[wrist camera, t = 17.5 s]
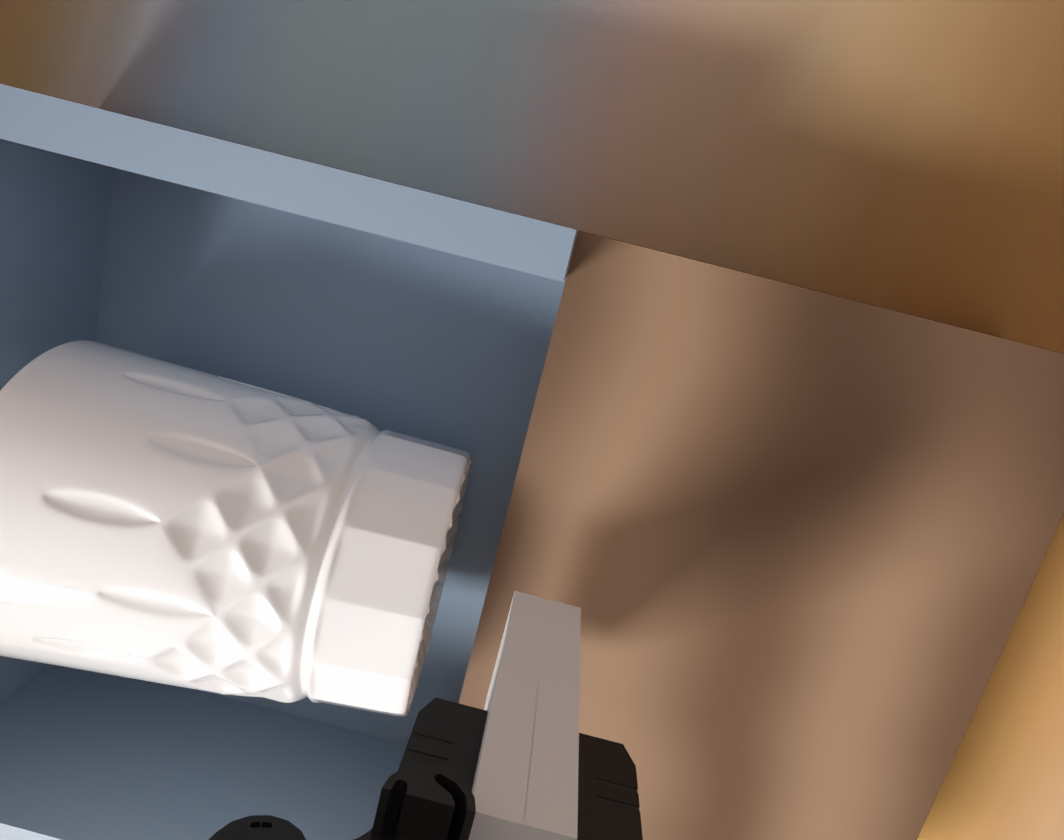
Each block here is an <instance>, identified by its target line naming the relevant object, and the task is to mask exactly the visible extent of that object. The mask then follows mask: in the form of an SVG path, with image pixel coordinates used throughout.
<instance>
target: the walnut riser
mask: <svg viewBox="0 0 1064 840" xmlns="http://www.w3.org/2000/svg"><path fill="white" fill-rule="evenodd" d="M1063 515H1064V354H1063V353H1059V352H1055V351H1051V350H1047V349H1043V348H1039V347H1035V346H1031V345H1027V344H1023V343H1019V342H1015V341H1011V340H1007V339H1004V338H1000V337H996V336H992V335H988V334H984V333H980V332H976V331H972V330H968V329H964V328H960V327H956V326H952V325H948V324H944V323H940V322H936V321H933V320H929V319H925V318H921V317H917V316H913V315H909V314H905V313H901V312H897V311H893V310H889V309H885V308H881V307H877V306H873V305H869V304H866V303H862V302H858V301H854V300H850V299H846V298H842V297H838V296H834V295H830V294H826V293H822V292H818V291H814V290H810V289H806V288H802V287H799V286H795V285H791V284H787V283H783V282H779V281H775V280H771V279H767V278H763V277H759V276H755V275H751V274H747V273H743V272H739V271H735V270H731V269H728V268H724V267H720V266H716V265H712V264H708V263H704V262H700V261H696V260H692V259H688V258H684V257H680V256H676V255H672V254H668V253H664V252H661V251H657V250H653V249H649V248H645V247H641V246H637V245H633V244H629V243H625V242H621V241H617V240H613V239H609V238H605V237H601V236H597V235H593V234H590V233H586V232H582V231H578V233H577V237H576V241H575V245H574V249H573V253H572V257H571V261H570V265H569V269H568V273H567V277H566V281H565V285H564V288H563V292H562V296H561V300H560V304H559V308H558V312H557V316H556V320H555V324H554V328H553V332H552V336H551V340H550V344H549V348H548V352H547V356H546V360H545V364H544V368H543V371H542V375H541V379H540V383H539V387H538V391H537V395H536V399H535V403H534V407H533V411H532V415H531V419H530V423H529V427H528V431H527V435H526V439H525V443H524V447H523V450H522V454H521V458H520V462H519V466H518V470H517V474H516V478H515V482H514V486H513V490H512V494H511V498H510V502H509V506H508V510H507V514H506V518H505V522H504V526H503V529H502V533H501V537H500V541H499V545H498V549H497V553H496V557H495V561H494V565H493V569H492V573H491V577H490V581H489V585H488V589H487V593H486V597H485V601H484V605H483V609H482V612H481V616H480V620H479V624H478V628H477V632H476V636H475V640H474V644H473V648H472V652H471V656H470V660H469V664H468V668H467V672H466V676H465V680H464V684H463V688H462V691H461V695H460V699H459V704H463V705H467V706H471V707H475V708H478V709H482V710H484V707H485V703H486V698H487V694H488V690H489V686H490V682H491V679H492V675H493V671H494V667H495V663H496V660H497V656H498V652H499V648H500V644H501V641H502V637H503V633H504V629H505V625H506V622H507V618H508V614H509V610H510V606H511V603H512V599H513V595H514V591H518V592H522V593H526V594H529V595H533V596H537V597H541V598H545V599H549V600H553V601H557V602H560V603H564V604H568V605H572V606H576V607H580V608H581V627H580V694H579V733H582V734H586V735H590V736H594V737H598V738H602V739H605V740H609V741H613V742H617V743H621V744H623V745H624V747H625V748H626V750H627V752H628V753H629V755H630V757H631V759H632V760H633V762H634V764H635V766H636V772H637V783H638V791H637V793H638V794H639V804H640V808H639V811H640V815H641V826H642V836H643V840H917V838H918V836H919V834H920V832H921V829H922V827H923V825H924V823H925V820H926V818H927V816H928V814H929V812H930V809H931V807H932V805H933V803H934V801H935V798H936V796H937V794H938V792H939V789H940V787H941V785H942V783H943V781H944V778H945V776H946V774H947V772H948V770H949V767H950V765H951V763H952V761H953V758H954V756H955V754H956V752H957V750H958V747H959V745H960V743H961V741H962V739H963V736H964V734H965V732H966V730H967V727H968V725H969V723H970V721H971V719H972V716H973V714H974V712H975V710H976V708H977V705H978V703H979V701H980V699H981V697H982V694H983V692H984V690H985V688H986V685H987V683H988V681H989V679H990V677H991V674H992V672H993V670H994V668H995V666H996V663H997V661H998V659H999V657H1000V654H1001V652H1002V650H1003V648H1004V646H1005V643H1006V641H1007V639H1008V637H1009V635H1010V632H1011V630H1012V628H1013V626H1014V623H1015V621H1016V619H1017V617H1018V615H1019V612H1020V610H1021V608H1022V606H1023V604H1024V601H1025V599H1026V597H1027V595H1028V593H1029V590H1030V588H1031V586H1032V584H1033V581H1034V579H1035V577H1036V575H1037V573H1038V570H1039V568H1040V566H1041V564H1042V562H1043V559H1044V557H1045V555H1046V553H1047V550H1048V548H1049V546H1050V544H1051V542H1052V539H1053V537H1054V535H1055V533H1056V531H1057V528H1058V526H1059V524H1060V522H1061V519H1062V517H1063Z"/></svg>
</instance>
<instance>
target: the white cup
mask: <svg viewBox="0 0 1064 840" xmlns="http://www.w3.org/2000/svg"><path fill="white" fill-rule="evenodd" d="M471 463H472V461H471V455H470V454H469V453H468V452H466V451H463V450H460V449H456V448H453V447H449V446H446V445H442V444H438V443H434V442H431V441H427V440H423V439H420V438H416V437H412V436H409V435H405V434H401V433H397V432H394V431H391V430H383V431H381V432H380V431H379V429H378V428H377V427H376V426H375V425H373V424H372V423H370V422H369V421H367V420H366V419H363V418H361V417H358V416H354V415H350V414H345V413H342V412H339V411H336V410H334V409H331V408H328V407H325V406H321V405H318V404H315V403H312V402H309V401H305V400H302V399H299V398H296V397H293V396H289V395H286V394H282V393H279V392H275V391H272V390H268V389H265V388H261V387H257V386H254V385H250V384H247V383H243V382H239V381H236V380H232V379H229V378H225V377H221V376H218V375H214V374H211V373H207V372H203V371H200V370H196V369H193V368H189V367H185V366H182V365H178V364H175V363H171V362H168V361H164V360H160V359H157V358H153V357H150V356H146V355H143V354H139V353H136V352H132V351H129V350H125V349H122V348H118V347H115V346H111V345H108V344H104V343H101V342H97V341H90V340H79V341H72V342H68V343H64V344H62V345H59V346H56V347H54V348H52V349H50V350H48V351H46V352H44V353H43V354H41V355H40V356H38V357H37V358H35V359H34V360H32V361H31V362H30V363H28V364H27V365H26V366H25V367H23V368H22V369H21V370H20V371H19V372H18V373H17V374H16V375H15V376H14V377H12V379H11V380H10V381H9V382H8V383H7V384H6V385H5V386H4V387H3V388H2V389H1V390H0V656H3V657H9V658H15V659H21V660H27V661H33V662H39V663H45V664H51V665H57V666H63V667H68V668H74V669H80V670H86V671H91V672H97V673H103V674H109V675H114V676H120V677H126V678H133V679H139V680H145V681H151V682H156V683H162V684H168V685H174V686H179V687H185V688H191V689H197V690H203V691H208V692H214V693H220V694H224V695H237V696H250V697H264V698H268V699H272V700H275V701H279V702H283V703H292V702H296V701H299V700H302V699H304V698H306V697H308V698H309V699H310V700H311V701H312V702H314V703H328V704H334V705H339V706H345V707H350V708H356V709H361V710H366V711H372V712H377V713H383V714H388V715H394V716H406V715H408V713H409V710H410V707H411V704H412V701H413V698H414V695H415V692H416V689H417V685H418V682H419V678H420V675H421V671H422V668H423V664H424V661H425V657H426V653H427V650H428V646H429V642H430V639H431V635H432V631H433V627H434V623H435V619H436V615H437V611H438V607H439V604H440V600H441V596H442V591H443V587H444V583H445V579H446V576H447V572H448V567H449V563H450V558H451V554H452V550H453V548H454V541H455V537H456V533H457V530H458V524H459V519H460V515H461V512H462V510H463V501H464V496H465V493H466V490H467V483H468V481H469V473H470V471H471Z"/></svg>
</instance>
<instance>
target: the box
mask: <svg viewBox="0 0 1064 840" xmlns="http://www.w3.org/2000/svg"><path fill="white" fill-rule="evenodd" d="M577 233H578V230H576V229H572V228H568V227H564V226H560V225H556V224H552V223H548V222H544V221H540V220H536V219H532V218H528V217H525V216H521V215H517V214H513V213H509V212H505V211H501V210H497V209H493V208H489V207H485V206H481V205H477V204H473V203H469V202H465V201H461V200H457V199H454V198H450V197H446V196H442V195H438V194H434V193H430V192H426V191H422V190H418V189H414V188H410V187H406V186H402V185H398V184H394V183H390V182H387V181H383V180H379V179H375V178H371V177H367V176H363V175H359V174H355V173H351V172H347V171H343V170H339V169H335V168H331V167H327V166H323V165H319V164H316V163H312V162H308V161H304V160H300V159H296V158H292V157H288V156H284V155H280V154H276V153H272V152H268V151H264V150H260V149H256V148H252V147H249V146H245V145H241V144H237V143H233V142H229V141H225V140H221V139H217V138H213V137H209V136H205V135H201V134H197V133H193V132H189V131H185V130H181V129H178V128H174V127H170V126H166V125H162V124H158V123H154V122H150V121H146V120H142V119H138V118H134V117H130V116H126V115H122V114H118V113H114V112H111V111H107V110H103V109H99V108H95V107H91V106H87V105H83V104H79V103H75V102H71V101H67V100H63V99H59V98H55V97H51V96H47V95H44V94H40V93H36V92H32V91H28V90H24V89H20V88H16V87H12V86H8V85H4V84H0V390H1V389H2V388H3V387H4V386H5V385H6V384H7V383H8V382H9V381H10V380H11V379H12V377H14V376H15V375H16V374H17V373H18V372H19V371H20V370H21V369H22V368H23V367H25V366H26V365H27V364H28V363H30V362H31V361H32V360H34V359H35V358H37V357H38V356H40V355H41V354H43V353H44V352H46V351H48V350H50V349H52V348H54V347H56V346H59V345H62V344H64V343H68V342H72V341H79V340H90V341H97V342H101V343H104V344H108V345H111V346H115V347H118V348H122V349H125V350H129V351H132V352H136V353H139V354H143V355H146V356H150V357H153V358H157V359H160V360H164V361H168V362H171V363H175V364H178V365H182V366H185V367H189V368H193V369H196V370H200V371H203V372H207V373H211V374H214V375H218V376H221V377H225V378H229V379H232V380H236V381H239V382H243V383H247V384H250V385H254V386H257V387H261V388H265V389H268V390H272V391H275V392H279V393H282V394H286V395H289V396H293V397H296V398H299V399H302V400H305V401H309V402H312V403H315V404H318V405H321V406H325V407H328V408H331V409H334V410H336V411H339V412H342V413H345V414H350V415H354V416H358V417H361V418H363V419H366V420H367V421H369V422H370V423H372V424H373V425H375V426H376V427H377V428H378V429H379V431H380V432H381V431H383V430H391V431H394V432H397V433H401V434H405V435H409V436H412V437H416V438H420V439H423V440H427V441H431V442H434V443H438V444H442V445H446V446H449V447H453V448H456V449H460V450H463V451H466V452H468V453H469V454H470V455H471V461H472V463H471V471H470V473H469V481H468V483H467V490H466V493H465V496H464V501H463V510H462V512H461V515H460V519H459V524H458V530H457V533H456V537H455V541H454V548H453V550H452V554H451V558H450V563H449V567H448V572H447V576H446V579H445V583H444V587H443V591H442V596H441V600H440V604H439V607H438V611H437V615H436V619H435V623H434V627H433V631H432V635H431V639H430V642H429V646H428V650H427V653H426V657H425V661H424V664H423V668H422V671H421V675H420V678H419V682H418V685H417V689H416V692H415V695H414V698H413V701H412V704H411V707H410V710H409V713H408V715H406V716H394V715H388V714H383V713H377V712H372V711H366V710H361V709H356V708H350V707H345V706H339V705H334V704H328V703H314V702H312V701H311V700H310V699H309V698H308V697H306V698H304V699H302V700H299V701H296V702H292V703H283V702H279V701H275V700H272V699H268V698H264V697H250V696H237V695H224V694H220V693H214V692H208V691H203V690H197V689H191V688H185V687H179V686H174V685H168V684H162V683H156V682H151V681H145V680H139V679H133V678H126V677H120V676H114V675H109V674H103V673H97V672H91V671H86V670H80V669H74V668H68V667H63V666H57V665H51V664H45V663H39V662H33V661H27V660H21V659H15V658H9V657H3V656H0V840H209V839H210V838H211V837H212V836H213V835H214V834H215V833H216V832H217V831H219V830H220V829H221V828H223V827H224V826H226V825H227V824H229V823H230V822H231V821H235V820H238V819H241V818H244V817H247V816H250V815H271V816H275V817H278V818H282V819H285V820H288V821H289V822H291V823H292V824H293V825H295V826H296V827H297V828H299V829H300V830H301V831H302V833H303V835H304V837H305V838H306V840H353V839H356V838H359V837H360V836H362V835H364V834H365V833H367V832H368V831H370V830H371V829H372V828H373V824H374V820H375V815H376V811H377V807H378V802H379V798H380V794H381V789H382V787H383V785H384V784H385V782H386V781H387V780H388V778H389V777H390V776H391V775H392V774H394V773H396V772H397V771H398V769H399V766H400V763H401V760H402V757H403V755H404V752H405V749H406V746H407V743H408V740H409V738H410V736H411V732H412V729H413V726H414V723H415V721H416V718H417V715H418V712H419V711H420V710H421V709H422V708H424V707H425V706H426V705H427V704H428V703H430V702H431V701H432V700H433V699H434V698H440V699H444V700H448V701H452V702H455V703H459V699H460V695H461V691H462V688H463V684H464V680H465V676H466V672H467V668H468V664H469V660H470V656H471V652H472V648H473V644H474V640H475V636H476V632H477V628H478V624H479V620H480V616H481V612H482V609H483V605H484V601H485V597H486V593H487V589H488V585H489V581H490V577H491V573H492V569H493V565H494V561H495V557H496V553H497V549H498V545H499V541H500V537H501V533H502V529H503V526H504V522H505V518H506V514H507V510H508V506H509V502H510V498H511V494H512V490H513V486H514V482H515V478H516V474H517V470H518V466H519V462H520V458H521V454H522V450H523V447H524V443H525V439H526V435H527V431H528V427H529V423H530V419H531V415H532V411H533V407H534V403H535V399H536V395H537V391H538V387H539V383H540V379H541V375H542V371H543V368H544V364H545V360H546V356H547V352H548V348H549V344H550V340H551V336H552V332H553V328H554V324H555V320H556V316H557V312H558V308H559V304H560V300H561V296H562V292H563V288H564V285H565V281H566V277H567V273H568V269H569V265H570V261H571V257H572V253H573V249H574V245H575V241H576V237H577Z"/></svg>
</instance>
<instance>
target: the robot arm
mask: <svg viewBox="0 0 1064 840" xmlns="http://www.w3.org/2000/svg"><path fill="white" fill-rule="evenodd" d="M580 627H581V608H580V607H576V606H572V605H568V604H564V603H560V602H557V601H553V600H549V599H545V598H541V597H537V596H533V595H529V594H526V593H522V592H518V591H514V595H513V599H512V603H511V606H510V610H509V614H508V618H507V622H506V625H505V629H504V633H503V637H502V641H501V644H500V648H499V652H498V656H497V660H496V663H495V667H494V671H493V675H492V679H491V682H490V686H489V690H488V694H487V698H486V703H485V707H484V710H482V709H478V708H475V707H471V706H467V705H463V704H459V703H455V702H452V701H448V700H444V699H440V698H434V699H433V700H432V701H431V702H430V703H428V704H427V705H426V706H425V707H424V708H422V709H421V710H420V711H419V712H418V715H417V718H416V721H415V723H414V726H413V729H412V732H411V736H410V738H409V740H408V743H407V746H406V749H405V752H404V755H403V757H402V760H401V763H400V766H399V769H398V771H397V772H396V773H394V774H392V775H391V776H390V777H389V778H388V780H387V781H386V782H385V784H384V785H383V787H382V789H381V794H380V798H379V802H378V807H377V811H376V815H375V820H374V824H373V828H372V829H371V830H370V831H368V832H367V833H365V834H364V835H362V836H360V837H359V838H356V839H353V840H643V836H642V826H641V815H640V811H639V808H640V804H639V794H638V793H637V791H638V783H637V772H636V766H635V764H634V762H633V760H632V759H631V757H630V755H629V753H628V752H627V750H626V748H625V747H624V745H623V744H621V743H617V742H613V741H609V740H605V739H602V738H598V737H594V736H590V735H586V734H582V733H579V694H580ZM209 840H306V838H305V837H304V835H303V833H302V831H301V830H300V829H299V828H297V827H296V826H295V825H293V824H292V823H291V822H289V821H288V820H285V819H282V818H278V817H275V816H271V815H250V816H247V817H244V818H241V819H238V820H235V821H231V822H230V823H229V824H227V825H226V826H224V827H223V828H221V829H220V830H219V831H217V832H216V833H215V834H214V835H213V836H212V837H211V838H210V839H209Z"/></svg>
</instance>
